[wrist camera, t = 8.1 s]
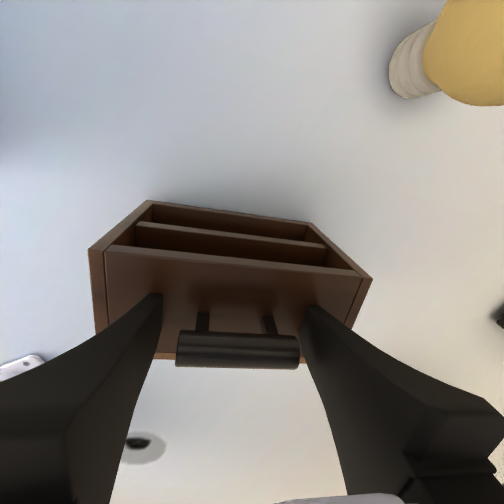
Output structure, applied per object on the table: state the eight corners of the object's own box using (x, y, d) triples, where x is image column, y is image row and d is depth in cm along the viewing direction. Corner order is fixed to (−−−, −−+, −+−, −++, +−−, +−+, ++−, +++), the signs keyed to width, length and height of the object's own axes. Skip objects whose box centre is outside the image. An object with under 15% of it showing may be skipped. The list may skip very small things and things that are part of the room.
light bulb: (434, -17, 15) (751, -261, 6) (463, 80, 18) (723, 7, 9) (349, 56, 16) (516, -64, 7) (387, 139, 19) (550, 129, 10)
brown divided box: (360, 410, 12) (412, 313, 10) (67, 412, 10) (42, 285, 7) (294, 284, 23) (312, 223, 20) (146, 270, 20) (146, 199, 18)
